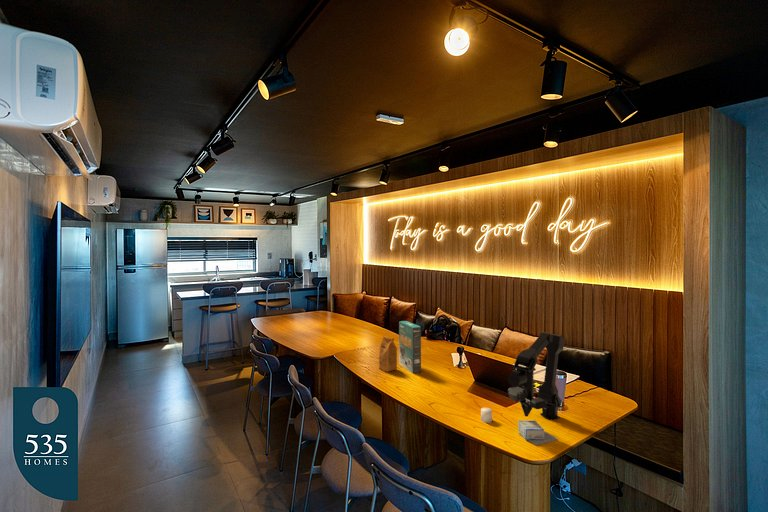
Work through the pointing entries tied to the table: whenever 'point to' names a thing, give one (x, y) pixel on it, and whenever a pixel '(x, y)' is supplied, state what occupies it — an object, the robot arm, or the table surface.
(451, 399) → the table surface
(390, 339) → the coffee package
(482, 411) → the egg
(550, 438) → the mat
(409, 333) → the cake mix box
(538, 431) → the medicine box
